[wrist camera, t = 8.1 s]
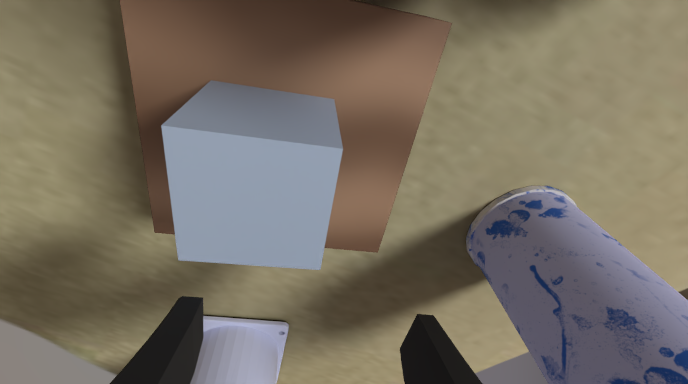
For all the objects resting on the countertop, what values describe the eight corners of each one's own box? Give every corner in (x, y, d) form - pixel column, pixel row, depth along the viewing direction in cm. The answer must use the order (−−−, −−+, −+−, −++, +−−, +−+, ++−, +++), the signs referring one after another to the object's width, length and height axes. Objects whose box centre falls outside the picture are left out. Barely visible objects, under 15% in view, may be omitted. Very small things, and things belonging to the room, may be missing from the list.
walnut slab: (367, 212, 22) (377, 252, 19) (181, 191, 20) (154, 232, 17) (422, 15, 16) (451, 23, 12) (161, -43, 14) (111, -52, 11)
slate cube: (318, 196, 16) (319, 269, 12) (215, 186, 16) (178, 260, 11) (334, 99, 14) (342, 148, 10) (211, 80, 13) (161, 125, 9)
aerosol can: (495, 284, 26) (813, 805, 10) (445, 232, 23) (805, 904, 6) (589, 230, 24) (1233, 802, 7) (549, 163, 21) (1619, 967, 4)
